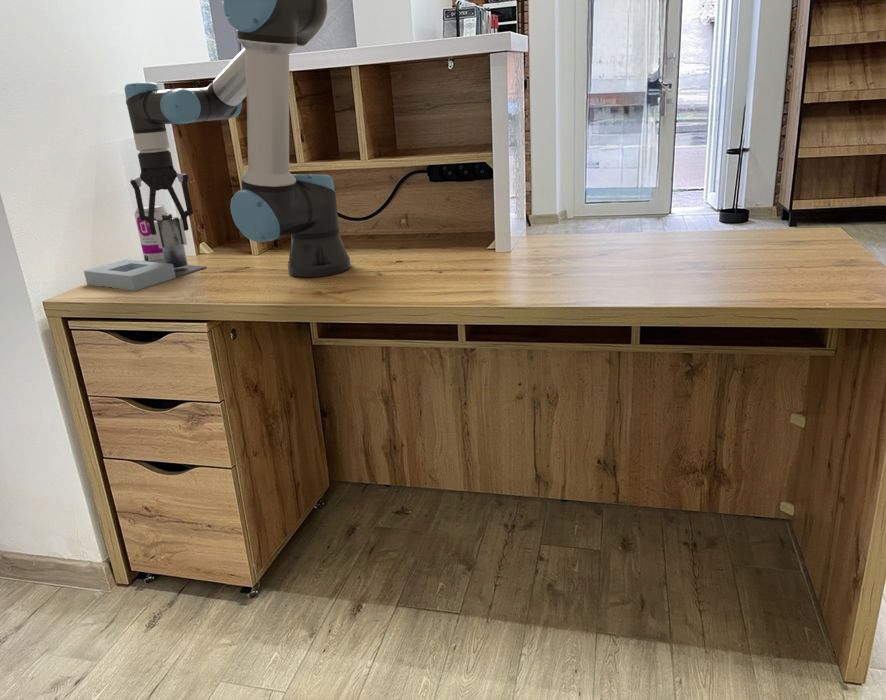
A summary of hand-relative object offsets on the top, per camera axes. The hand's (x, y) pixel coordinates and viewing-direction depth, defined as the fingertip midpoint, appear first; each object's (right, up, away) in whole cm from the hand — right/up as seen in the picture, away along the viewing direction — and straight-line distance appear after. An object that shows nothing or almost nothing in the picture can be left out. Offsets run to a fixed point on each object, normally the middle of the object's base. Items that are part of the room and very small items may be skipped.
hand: (172, 245), depth 178 cm
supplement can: (-9, -2, +15) cm, 18 cm away
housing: (-9, -10, -4) cm, 14 cm away
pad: (0, -6, +2) cm, 7 cm away
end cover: (0, -5, +2) cm, 5 cm away
